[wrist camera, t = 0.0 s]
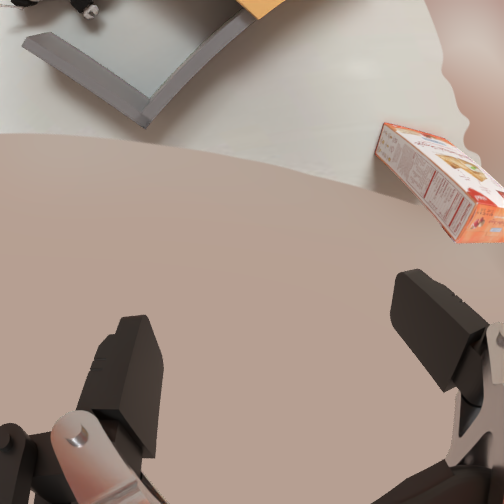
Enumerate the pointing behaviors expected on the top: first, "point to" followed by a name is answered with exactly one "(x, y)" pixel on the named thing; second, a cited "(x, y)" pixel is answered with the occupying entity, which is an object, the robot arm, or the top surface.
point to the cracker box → (445, 183)
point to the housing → (115, 87)
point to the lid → (259, 6)
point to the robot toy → (81, 3)
